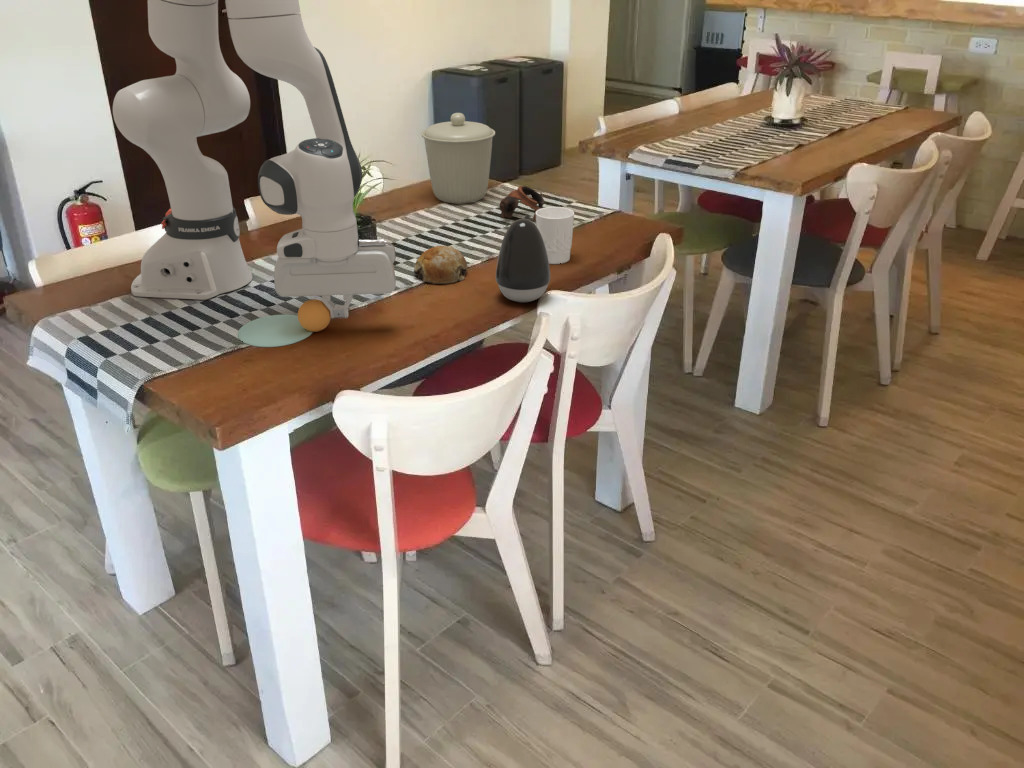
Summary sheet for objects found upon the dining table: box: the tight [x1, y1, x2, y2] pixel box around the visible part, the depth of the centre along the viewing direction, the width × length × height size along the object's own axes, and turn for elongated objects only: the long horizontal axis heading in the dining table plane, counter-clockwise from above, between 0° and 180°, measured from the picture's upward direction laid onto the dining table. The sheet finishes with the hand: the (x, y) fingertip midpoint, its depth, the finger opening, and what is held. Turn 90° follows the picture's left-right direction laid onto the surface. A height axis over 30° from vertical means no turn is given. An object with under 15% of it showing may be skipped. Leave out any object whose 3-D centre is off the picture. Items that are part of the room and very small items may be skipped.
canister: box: [420, 112, 496, 205], centre depth 217 cm, size 18×18×21 cm
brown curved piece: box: [499, 185, 546, 221], centre depth 207 cm, size 12×10×8 cm
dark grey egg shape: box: [495, 214, 551, 303], centre depth 162 cm, size 10×10×15 cm
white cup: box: [535, 206, 575, 265], centre depth 182 cm, size 8×8×10 cm
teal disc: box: [237, 314, 314, 348], centre depth 153 cm, size 13×13×1 cm
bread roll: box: [413, 245, 468, 285], centre depth 175 cm, size 10×10×8 cm
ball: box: [297, 298, 332, 333], centre depth 152 cm, size 6×6×6 cm
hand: (339, 316), depth 153 cm, fingers closed
